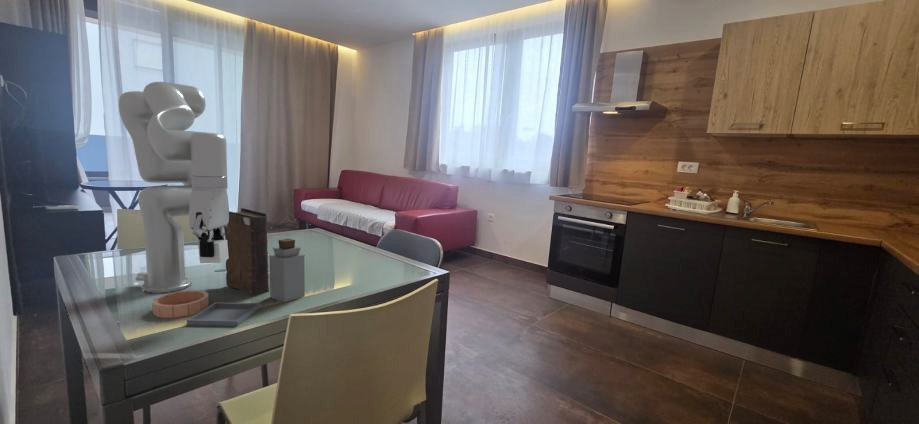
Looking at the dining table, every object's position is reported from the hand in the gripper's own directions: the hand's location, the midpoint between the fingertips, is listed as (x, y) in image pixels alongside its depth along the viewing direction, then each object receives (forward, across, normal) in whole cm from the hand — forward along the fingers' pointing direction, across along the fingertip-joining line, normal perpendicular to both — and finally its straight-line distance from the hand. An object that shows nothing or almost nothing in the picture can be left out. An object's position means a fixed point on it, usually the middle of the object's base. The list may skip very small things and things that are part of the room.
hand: (212, 253), depth 101 cm
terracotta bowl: (+17, -3, -10) cm, 20 cm away
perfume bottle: (+17, -14, +14) cm, 26 cm away
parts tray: (+17, +1, +4) cm, 17 cm away
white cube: (+2, 0, 0) cm, 2 cm away
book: (+17, -21, -1) cm, 27 cm away
